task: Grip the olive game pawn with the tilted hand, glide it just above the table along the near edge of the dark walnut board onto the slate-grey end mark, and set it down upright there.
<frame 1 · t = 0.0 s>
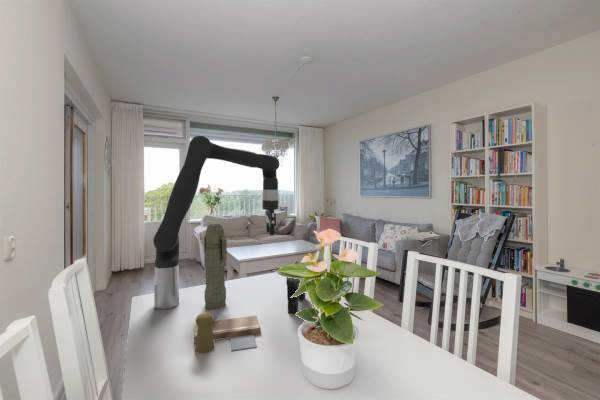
hand: (270, 233, 137), 29 cm above the table, tool pointing down, fingers open, 8 cm apart
olive game pawn: (204, 348, 92), on the table
walnut board: (227, 330, 104), on the table
thermos: (215, 305, 126), on the table
slate end mark: (243, 342, 96), on the table
ceramic cat: (296, 306, 126), on the table
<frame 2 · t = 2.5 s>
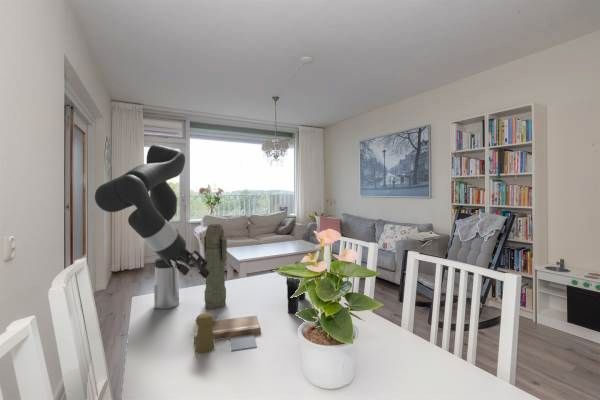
hand: (196, 274, 87), 25 cm above the table, tool tilted 40°, fingers open, 8 cm apart
nothing on the table moved.
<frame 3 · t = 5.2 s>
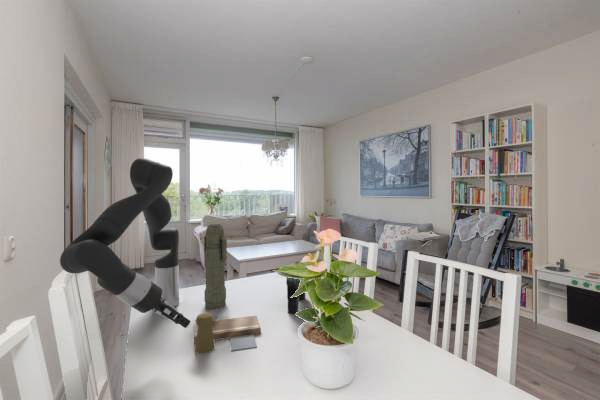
hand: (181, 319, 87), 12 cm above the table, tool tilted 45°, fingers open, 8 cm apart
nothing on the table moved.
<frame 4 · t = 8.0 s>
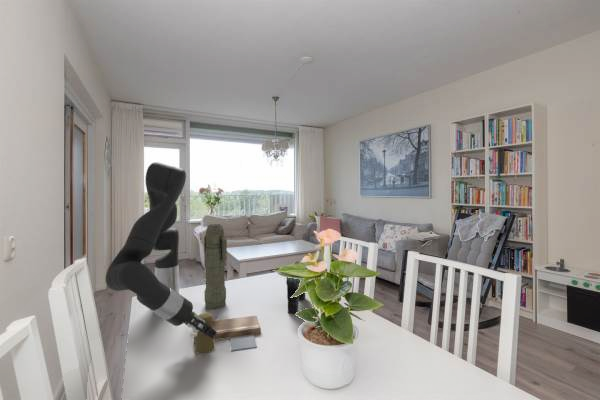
hand: (210, 332, 94), 5 cm above the table, tool tilted 45°, fingers closed on olive game pawn, 4 cm apart
olive game pawn: (204, 348, 92), on the table, touching gripper
everything else where it was.
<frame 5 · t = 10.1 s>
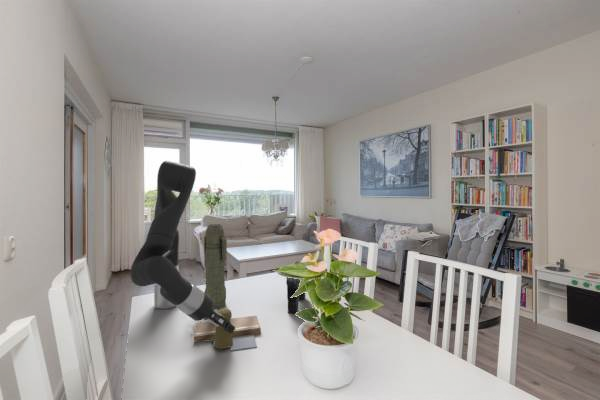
hand: (228, 327, 95), 5 cm above the table, tool tilted 45°, fingers closed on olive game pawn, 4 cm apart
olive game pawn: (223, 344, 94), point 1 cm above the table, touching gripper
everything else where it was.
when the fingers open (5 cm above the table, at t = 12.3 s): olive game pawn stays where it is, resting on slate end mark.
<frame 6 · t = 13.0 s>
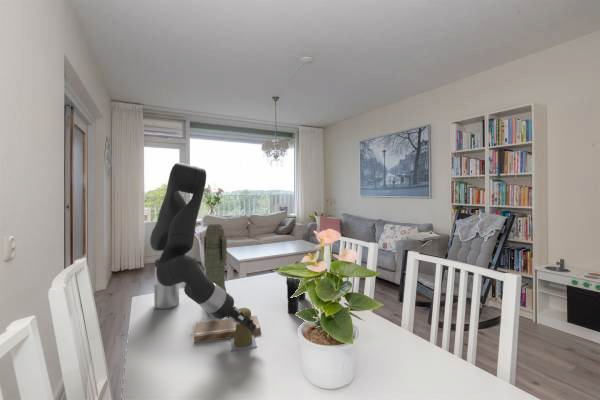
hand: (246, 324, 97), 6 cm above the table, tool tilted 45°, fingers open, 8 cm apart
olive game pawn: (243, 342, 96), resting on slate end mark
everything else where it was.
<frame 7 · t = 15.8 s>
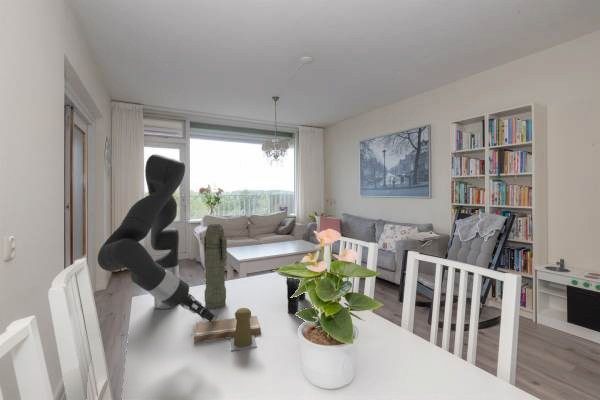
hand: (205, 313, 91), 11 cm above the table, tool tilted 45°, fingers open, 8 cm apart
nothing on the table moved.
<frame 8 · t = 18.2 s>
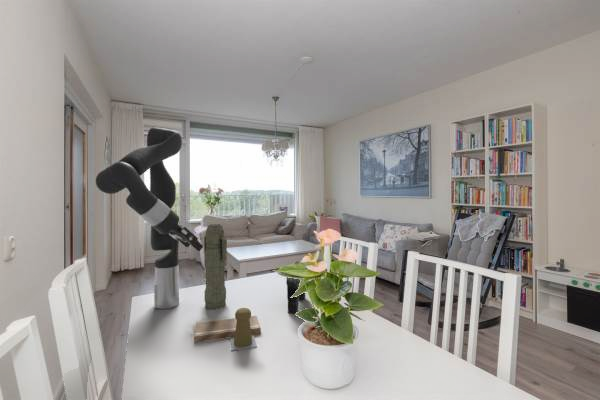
hand: (194, 246, 100), 31 cm above the table, tool tilted 45°, fingers open, 8 cm apart
nothing on the table moved.
at the end: olive game pawn 0.2 cm from the target spot, resting on slate end mark; olive game pawn tilted 0°; the gripper is holding nothing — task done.
